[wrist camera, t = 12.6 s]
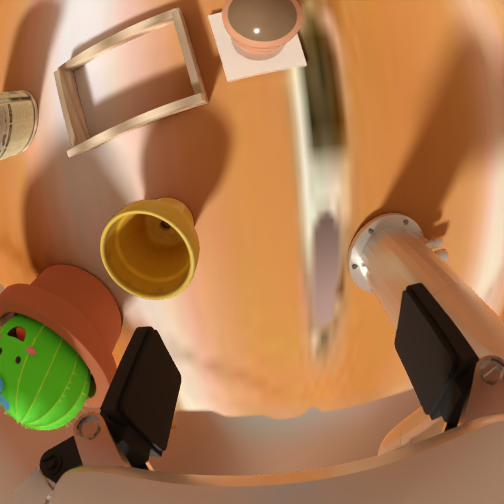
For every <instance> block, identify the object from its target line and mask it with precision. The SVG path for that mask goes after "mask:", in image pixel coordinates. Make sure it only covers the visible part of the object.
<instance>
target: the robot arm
mask: <svg viewBox="0 0 504 504" xmlns="http://www.w3.org/2000/svg"><path fill="white" fill-rule="evenodd" d="M369 228H370V229H369ZM442 245H443V241H442V239H441V238H440V237H438V238H434V239H432V240H428V239H426V238H425V237H424V236H423V233H422V230H421V228H420V227H419V225H418V224H417V223H416V222H415V221H414V220H413V219H411V218H410V217H408V216H406V215H404V214H400V213H386V214H382V215H380V216H377V217H375V218H373V219H372V220H370V221H369V222H367V223H366V224H365V225H364V226H363V227H362V228H361V229H360V230H359V232H358V233H357V234H356V235H355V237H354V239H353V241H352V243H351V246H350V248H349V252H348V258H347V262H348V269H349V273H350V275H351V277H352V279H353V280H354V282H355V283H356V285H358V286H359V287H360V288H361V289H363V290H365V291H367V292H370V293H374V294H375V296H376V297H377V299H378V300H379V302H380V304H381V305H382V307H383V309H384V310H385V312H386V314H387V315H388V317H389V319H390V321H391V322H392V324H393V326H394V327H395V329H396V337H395V348H396V351H397V353H398V355H399V357H400V359H401V361H402V363H403V365H404V368H405V370H406V372H407V374H408V376H409V378H410V381H411V383H412V385H413V387H414V390H415V392H416V394H417V396H418V399H419V401H420V403H421V407H420V408H418V409H417V410H416V411H414V412H413V413H412V414H411V415H410V416H408V417H407V418H405V419H404V420H403V421H402V422H400V423H399V424H398V425H397V426H395V427H394V428H393V429H392V430H391V431H390V432H389V433H388V434H387V435H386V437H385V438H384V440H383V441H382V443H381V445H380V448H379V452H378V455H377V456H374V457H370V458H366V459H362V460H358V461H354V462H349V463H345V464H340V465H336V466H330V467H324V468H319V469H312V470H306V471H299V472H290V473H280V474H269V475H268V474H267V475H249V476H209V475H207V476H206V475H191V474H179V473H169V472H160V471H154V470H153V468H152V467H151V465H150V464H149V462H148V459H149V456H157V457H161V456H162V451H164V450H166V447H167V442H168V438H169V434H170V429H171V424H172V420H173V415H174V411H175V407H176V402H177V398H178V394H179V389H180V385H181V374H180V372H179V371H178V369H177V367H176V365H175V363H174V362H173V360H172V358H171V356H170V354H169V352H168V350H167V349H166V347H165V345H164V343H163V341H162V339H161V337H160V335H159V333H158V331H157V330H154V329H153V328H152V327H150V326H148V327H138V328H136V330H135V332H134V334H133V336H132V338H131V340H130V342H129V344H128V346H127V348H126V351H125V353H124V355H123V357H122V359H121V361H120V364H119V366H118V368H117V370H116V373H115V375H114V377H113V379H112V382H111V384H110V386H109V389H108V391H107V393H106V396H105V398H104V401H103V403H102V405H101V408H100V409H101V412H100V414H99V413H95V412H88V413H85V414H83V415H82V416H80V417H79V418H78V420H77V421H76V423H75V424H74V429H73V433H74V436H72V437H70V438H69V439H67V440H65V441H64V442H62V443H60V444H58V445H57V446H55V447H53V448H51V449H49V450H48V451H46V452H45V453H44V454H43V456H42V457H41V460H40V470H39V469H38V468H36V469H35V470H34V471H33V472H32V473H31V474H30V475H29V476H28V477H27V478H26V479H25V480H24V481H23V482H22V483H21V484H20V485H19V486H18V487H17V488H16V490H15V491H14V494H13V501H14V504H504V321H503V320H502V319H501V318H500V317H499V316H498V315H497V314H496V313H495V312H494V311H493V310H492V309H491V308H490V307H489V306H488V305H487V304H486V303H485V302H484V301H483V300H482V299H481V298H480V297H479V296H478V295H477V294H476V293H475V292H474V291H473V290H472V289H471V288H470V287H469V286H468V285H467V284H466V283H465V282H464V281H463V280H462V279H461V278H460V277H459V276H458V275H457V274H456V273H455V272H454V271H453V270H452V269H451V268H450V267H449V266H448V265H447V264H446V263H445V261H447V260H448V253H447V251H446V249H441V250H437V251H435V252H433V251H432V250H431V249H433V248H438V247H441V246H442Z"/></svg>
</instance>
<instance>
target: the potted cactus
mask: <svg viewBox="0 0 504 504" xmlns="http://www.w3.org/2000/svg"><path fill="white" fill-rule="evenodd" d="M121 327H122V321H121V315H120V311H119V308H118V305H117V303H116V301H115V299H114V297H113V296H112V294H111V293H110V291H109V290H108V289H107V287H106V286H105V285H104V284H103V283H102V282H101V281H100V280H99V279H97V278H96V277H95V276H93V275H92V274H90V273H89V272H87V271H85V270H83V269H80V268H78V267H75V266H71V265H65V264H58V265H53V266H50V267H48V268H46V269H45V270H44V271H43V272H42V273H41V274H40V275H39V276H38V277H37V278H36V279H35V280H34V281H33V282H32V283H31V284H30V285H28V284H13V285H11V286H9V287H7V288H6V289H5V290H4V291H3V292H2V293H1V294H0V404H1V405H2V406H3V408H4V409H5V410H6V411H7V412H5V414H6V413H8V414H9V415H11V416H12V417H13V418H14V419H15V420H17V422H20V423H21V424H23V425H25V426H26V427H27V426H28V427H29V428H34V429H39V430H51V429H55V428H56V429H57V428H59V427H61V426H63V425H65V424H67V423H68V422H69V421H70V420H71V419H72V418H74V417H75V416H76V415H77V414H78V412H79V411H80V410H81V408H82V407H83V406H84V407H101V405H102V403H103V401H104V398H105V396H106V393H107V391H108V389H109V386H110V384H111V382H112V379H113V377H114V375H115V373H116V370H117V368H116V364H115V361H114V358H113V355H112V352H113V349H114V347H115V345H116V343H117V341H118V338H119V336H120V333H121Z"/></svg>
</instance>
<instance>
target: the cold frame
mask: <svg viewBox="0 0 504 504" xmlns="http://www.w3.org/2000/svg"><path fill="white" fill-rule="evenodd" d="M171 23H174V24H175V28H176V31H177V35H178V38H179V42H180V46H181V49H182V53H183V56H184V60H185V63H186V67H187V70H188V74H189V77H190V81H191V84H192V88H193V91H194V95H192V96H189V97H186V98H183V99H180V100H177V101H175V102H172V103H169V104H166V105H164V106H161V107H158V108H156V109H153V110H151V111H148V112H146V113H143V114H141V115H139V116H136V117H134V118H132V119H129V120H127V121H125V122H123V123H120V124H118V125H116V126H114V127H112V128H110V129H108V130H106V131H104V132H102V133H100V134H98V135H96V136H94V137H92V138H90V135H89V132H88V128H87V125H86V121H85V118H84V114H83V110H82V107H81V103H80V99H79V95H78V91H77V86H76V82H75V77H74V73H73V71H75V70H76V69H78V68H79V67H81V66H83V65H84V64H86V63H88V62H89V61H91V60H93V59H95V58H97V57H98V56H100V55H102V54H104V53H106V52H108V51H110V50H111V49H113V48H115V47H117V46H119V45H121V44H124V43H126V42H128V41H130V40H132V39H134V38H136V37H139V36H141V35H143V34H146V33H148V32H150V31H153V30H155V29H158V28H161V27H163V26H166V25H169V24H171ZM54 75H55V81H56V85H57V90H58V95H59V99H60V103H61V107H62V111H63V115H64V119H65V123H66V127H67V130H68V134H69V137H70V141H71V144H72V147H73V148H72V149H70V150H68V151H67V155H68V158H69V157H72V156H75V155H78V154H81V153H84V152H87V151H90V150H92V149H94V148H96V147H98V146H100V145H102V144H104V143H106V142H108V141H110V140H112V139H114V138H117V137H119V136H121V135H123V134H126V133H128V132H130V131H133V130H135V129H137V128H140V127H142V126H145V125H147V124H150V123H152V122H155V121H157V120H160V119H163V118H165V117H168V116H171V115H174V114H176V113H179V112H182V111H185V110H188V109H191V108H194V107H197V106H200V105H204V104H207V103H209V101H208V98H207V94H206V91H205V87H204V84H203V81H202V77H201V74H200V70H199V67H198V63H197V60H196V56H195V53H194V49H193V46H192V42H191V39H190V36H189V32H188V29H187V25H186V22H185V18H184V15H183V13H182V11H181V10H180V8H179V7H178V8H175V9H172V10H169V11H166V12H164V13H161V14H158V15H156V16H153V17H151V18H148V19H146V20H144V21H141V22H139V23H137V24H134V25H132V26H130V27H128V28H126V29H124V30H122V31H120V32H118V33H116V34H114V35H112V36H110V37H108V38H106V39H104V40H102V41H100V42H99V43H97V44H95V45H93V46H91V47H90V48H88V49H86V50H85V51H83V52H81V53H80V54H78V55H77V56H75V57H73V58H72V59H70V60H69V61H67V62H66V63H64V64H63V65H61V66H60V67H58V70H57V71H55V72H54Z"/></svg>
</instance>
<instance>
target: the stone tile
mask: <svg viewBox="0 0 504 504" xmlns="http://www.w3.org/2000/svg"><path fill="white" fill-rule="evenodd" d="M208 18H209V21H210V24H211V27H212V31H213V34H214V37H215V41H216V44H217V47H218V51H219V54H220V57H221V61H222V64H223V68H224V71H225V75H226V78H227V81H228V82H231V81H235V80H239V79H243V78H247V77H252V76H256V75H261V74H266V73H271V72H276V71H281V70H287V69H293V68H299V67H305V66H307V64H306V60H305V57H304V54H303V50H302V47H301V44H300V41H299V37H298V34H296V35H295V36H294V38H292V39H291V40H290V41H289V42H287V43H286V44H285V46H284V48H283V49H282V51H281V52H280V53H279V54H278V55H276V56H275V57H273V58H271V59H268V60H262V61H256V60H250V59H247V58H245V57H243V56H241V55H240V54H239V53H238V52H237V51H236V50H235V49H234V47H233V45H232V41H231V36H230V35H229V34H228V33H227V31H226V29H225V27H224V25H223V21H222V12H220V13H216V14H212V15H209V16H208Z"/></svg>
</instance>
